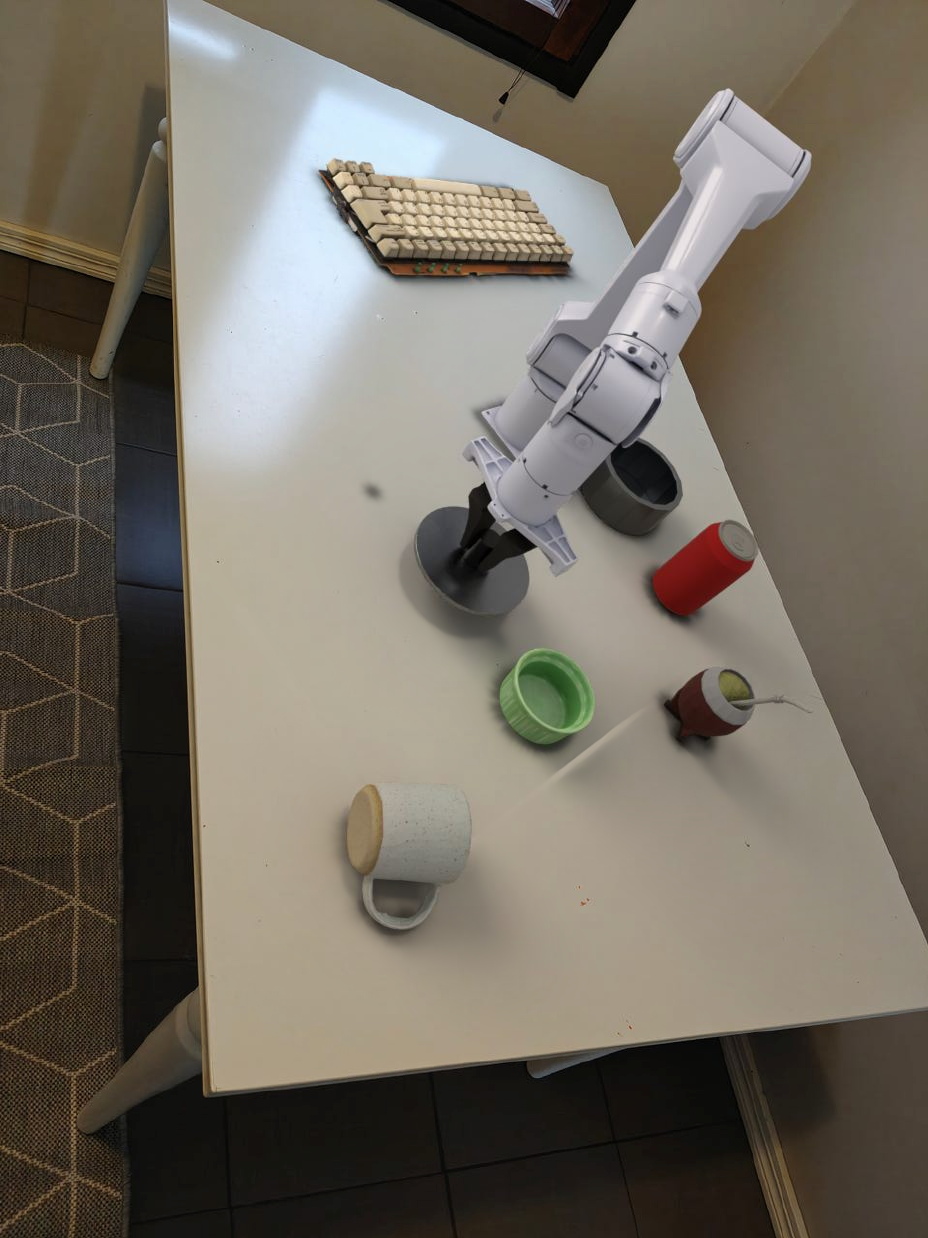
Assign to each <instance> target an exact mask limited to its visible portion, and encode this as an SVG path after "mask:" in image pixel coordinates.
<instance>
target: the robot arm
mask: <svg viewBox="0 0 928 1238" xmlns="http://www.w3.org/2000/svg"><path fill="white" fill-rule="evenodd" d="M734 94H735V93H734V91H733V90H732V89H731V88H726V89H725V90H724V89H723V90H719V91H718V92H716V93H715V94H714V96H713V97H712V98H711V99H710V100H709V102H708V103H707V104H706V105H705V107H704V108H703V110H702V111H701V113H700V114H699V115H698V116H697V118H696V119H695V121H694V123H693V124H692V126H691V127H690V128H689V130H688V131H687V133H686V134H685V136H684V137H683V138H682V140H681V141H680V142H679V144H678V146H677V147H676V149H675V150H674V156H673V157H672V161H673V162H674V164H675V165H676V166H677V167H678V169H679V176H680V177H681V181H680V184H679V186H678V189H677V190H676V192H675V193H674V194H673V196H672V197H671V198H670V200H669V201H668V202H667V204H666V205H665V206H664V208H663V209H662V211H661V212H660V213H659V215H658V216H657V217H656V218H655V220H654V221H653V222H652V224H651V225H650V226H649V229H647V231H646V232H645V233H644V235H643V236H642V237H641V238H640V240H639V242H637V244H636V245H635V247H634V248H633V249H632V251H631V252H630V253H629V255H628V256H627V257H626V259H625V260H624V262H622V264H621V266H620V267H618V270H617V271H616V272H615V274H613V276H612V278H611V279H610V280H609V282H608V283H607V285H606V286H605V287H604V288H603V290H602V291H601V292H600V294H599V295H598V297H597V298H596V299H595V300H594V301H593V302H591V301H578V300H577V301H576V300H567V301H565V302H564V303H563V304H560V305H559V307H558V308H557V309H556V310H555V312H554V313H553V314H552V315H551V316H549V318H548V319H547V321H545V323H544V324H543V326H542V327H541V329H540V330H539V332H538V333H537V335H536V336H535V338H534V339H533V341H532V343H531V345H530V346H529V348H528V350H527V352H526V354H525V358H526V364H527V365H529V368H527V370H526V372H525V373H524V374H523V376H522V377H521V378H520V380H519V381H518V383H517V384H516V385H515V386H514V388H513V390H512V391H511V393H509V395H508V396H507V398H506V399H505V401H504V402H503V403H502V405H498V406H496V407H491V408H488V409H485V410H482V411H481V415H482V416H483V418H484V419H485V420H486V422H487V423H488V424H489V426H490V427H491V428H492V430H493V431H494V432H495V433H496V434H497V436H498V437H499V439H500V440H501V441H502V442H503V444H504V445H505V446H506V447H507V449H508V450H509V452H510V453H511V454H512V455H513V457H514V458H515V459H514V461H512V460H511V459H509V458H508V457H507V456H506V455H504V454H503V452H501V451H500V450H499V449H497V447H495V446H494V444H492V443H491V441H490V440H489V439H488V438H487V437H486V436H485V435H483V436H480V437H477V438H474V439H471V440H470V441H469V442H468V443H467V445H466V446H465V448H464V449H463V450H462V452H461V455H462V456H463V458H464V459H465V461H466V462H473V463H474V465H475V466H476V467H477V469H478V470H479V471H480V474H481V476H482V478H483V482H482V483H481V484H480V485H478V486H475V487H473V488H472V489H471V490H470V491H469V493H468V496H467V498H468V508H469V515H468V520H467V525H466V528H465V531H464V534H463V537H462V539H461V542H460V545H461V547H462V548H463V549H465V548H467V547H468V546H469V545H470V544H471V543H472V542H473V540H474V539H475V538H476V537H477V536H478V534H479V533H480V532H481V531H482V530H483V529H487V528H488V529H490V528H491V526H492V525H493V524H494V522H495V521H496V522H497V523H499V524H505V523H507V524H509V525H511V527H512V528H511V529H509V530H507V532H504V533H502V534H501V536H500V538H499V540H498V542H497V544H496V546H495V547H494V549H493V550H492V552H491V553H490V554H489V555H488V556H487V557H486V558H485V559H484V560H483V561H482V562H481V563H480V564H479V566H478V570H479V571H480V572H481V573H484V572H486V571H488V570H490V569H492V568H494V567H495V566H497V565H498V564H499V563H500V562H502V561H503V560H505V559H508V558H512V557H516V556H519V555H522V554H526V553H528V552H530V551H533V550H535V549H537V548H538V549H539V550H540V551H541V553H542V554H543V555H544V557H545V558H546V559H547V561H548V563H550V564H551V565H550V566H549V567H548V569H549V571H550V572H551V574H552V575H553V576H554V577H555V578H557V577H559V576H561V575H562V574H565V573H566V572H568V571H570V570H571V568H572V567H573V566H575V564H577V562H579V561H580V558H579V556H578V555H577V554H576V552H575V550H574V549H573V546H572V545H571V543H570V541H569V539H568V536H567V535H566V531H565V530H564V528H563V525H562V522H561V521H560V518H559V516H558V514H557V512H558V511H559V510H560V509H561V508H562V506H564V504H565V503H566V502H568V500H569V499H570V498H571V497H572V495H574V493H575V492H576V491H577V490H578V489H579V488H581V485H582V483H583V482H584V481H585V480H586V479H587V478H588V477H589V476H590V475H591V474H592V473H593V471H594V470H595V469H596V468H597V467H598V466H599V465H600V464H601V463H602V462H603V461H604V460H605V458H606V457H607V456H608V455H609V454H610V453H611V452H612V451H613V450H614V449H615V448H616V446H617V445H618V444H619V443H620V442H621V441H622V447H623V448H626V447H628V446H630V445H631V444H633V443H634V442H635V441H636V440H637V439H638V438H641V436H642V435H643V434H644V432H645V431H646V430H647V429H648V427H650V425H651V424H652V422H653V421H654V419H655V417H656V416H657V414H658V412H659V411H660V409H661V407H662V406H663V403H664V402H665V400H666V398H667V395H668V391H669V386H670V383H671V382H672V379H673V375H674V374H673V373H672V372H671V371H670V370H671V369H672V367H673V365H674V364H675V361H676V360H677V358H678V357H679V354H680V353H681V351H682V349H683V348H684V347H685V344H686V342H687V341H688V339H689V337H690V335H691V334H692V332H693V330H694V328H695V327H696V325H697V323H698V321H699V320H700V318H701V315H702V304H701V300H700V297H699V294H698V293H699V292H700V289H701V288H702V287H703V285H704V284H705V282H706V281H707V279H708V278H709V277H710V275H711V274H712V273H713V271H714V270H715V268H716V266H717V265H718V264H719V262H720V260H721V259H722V258H723V256H724V255H725V253H726V252H727V251H728V249H729V248H730V246H731V244H733V242H734V240H735V239H736V238H737V236H738V234H739V233H740V232H741V230H755V229H756V228H757V227H759V225H761V224H762V223H763V222H766V221H769V220H772V219H773V218H774V217H775V216H777V215H778V214H779V213H780V212H781V211H782V210H783V209H784V207H785V206H786V205H787V204H788V203H789V202H790V201H791V199H792V198H793V197H794V196H795V194H796V193H797V192H798V191H799V189H800V188H801V186H802V185H803V183H804V181H805V179H806V178H807V176H808V174H809V172H810V171H811V166H812V152H810V151H809V150H807V149H803V148H802V147H801V146H799V145H798V144H796V143H795V142H794V141H793V140H791V138H789V137H788V136H787V135H785V134H784V133H783V132H781V130H779V129H778V128H777V127H775V126H774V125H773V124H771V123H770V122H769V121H768V120H766V119H765V118H764V117H762V116H761V115H760V114H759V113H758V112H756V111H755V110H754V109H753V108H751V107H750V106H749V105H747V103H745V102H744V101H743V100H742V99H740V98H739V97H737V96H736V95H734ZM488 413H489V414H488Z"/></svg>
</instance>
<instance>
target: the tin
mask: <svg viewBox="0 0 928 1238" xmlns="http://www.w3.org/2000/svg"><path fill="white" fill-rule="evenodd" d="M681 480H682V479H681V478H680V476H679V474H678V471H677V470H676V467H675V466H674V465H673V463H672V462H671V461H670V460H669V458H668V457H667V456H666V455H665V454H664V453H663V452H662V451H661V450H660V449H658V448H657V447H656V446H655V445H653V444H652V443H651V442H649V441H647V440H645V439H643V438H642V437H639V438H638V439H637V440H636V441H635V442H634V443H633V444H631V445H630V446H628V447H626V448H623V447H622V441H621V442H620V443H619V444H618V445H617V446H616V448H615V449H614V450H613V451H612V452H611V453H610V454H609V455H608V456H607V457H606V458H605V460H604V461H603V462H602V463H601V464H600V465H599V466H598V467H597V468H596V469H595V470H594V471H593V473H592V474H591V475H590V476H589V477H588V478H587V479H586V480H585V481H584V482H583V483H582V485H581V486H580V489H581V492H582V495H583V497H584V499H585V501H586V503H587V504H588V506H589V507H590V509H591V510H592V511H593V512H594V513H595V514H596V516H597V517H599V519H601V520H602V522H604V523H605V524H607V525H608V526H610V527H611V528H613V529H614V530H616V531H619V532H620V533H623V534H626V535H630V536H641V535H646V534H647V533H649V532H650V531H652V530H653V529H655V528H656V527H657V526H659V524H660V523H662V522H663V520H665V519H666V518H667V517H668V516H669V515H670V514H672V512H673V511H674V510H675V509H677V508H678V507H679V506H680V504H681V501H682V498H683V496H684V493H683V485H682V483H683V482H682V481H681Z"/></svg>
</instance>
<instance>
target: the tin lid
mask: <svg viewBox="0 0 928 1238" xmlns="http://www.w3.org/2000/svg"><path fill="white" fill-rule="evenodd" d="M468 515H469V507H465V506H459V505H457V506H453V505H451V506H444V507H440V508H437V509H435V510H432V511H430V512H429V513H428V514H426V515H425V517H424V518H423V519H422V520H421V522H420V523H419V524H418V526H417V528H416V531H415V534H414V541H413V549H414V556H415V560H416V563H417V565H418V569H419V570H420V572H421V574H422V576H423V577H424V579H425V581H426V582H427V583H428V585H429V586H430V587H431V588H432V589H433V590H434V592H435V593H437V594H438V595H439V596H440V597H441V598H442V599H443V600H444V601H446V602H447V603H449V604H450V605H452V606H453V607H455V608H457V609H459V610H460V611H463V612H466V613H468V614H471V615H475V616H479V617H499V616H503V615H506V614H508V613H511V612H512V611H514V610H515V609H516V608H518V606H519V605H521V604H522V602H523V601H524V599H525V598H526V595H527V594H528V590H529V586H530V570H529V566H528V563H527V562H528V561H527V559H526V557H525V555H524V554H525V553H524V554H522V555H519V556H516V557H512V558H508V559H505V560H503V561H502V562H500V563H499V564H498V565H497V566H495V567H494V568H492V569H490V570H488V571H486V572H484V573H481V572H480V571H479V570H478V566H479V564H480V563H481V562H482V561H483V560H484V559H485V558H486V557H487V556H488V555H489V554H490V553H491V552H492V550H493V549H494V547H495V546H496V544H497V542H498V540H499V538H500V536H501V534H502V533H504V532H507V531H508V530H507V529H506V528H505V527H503V525H501V523H499V522H498V521H495V522H494V524H493V525H492V526H491V528H490V529H488V528H487V529H483V530H482V531H481V532H480V533H479V534H478V536H477V537H476V538H475V539H474V540H473V542H472V543H471V544H470V545H469V546H468V547H467V548H465V549H463V548H462V547H461V545H460V542H461V539H462V537H463V534H464V531H465V528H466V525H467V520H468Z"/></svg>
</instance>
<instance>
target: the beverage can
mask: <svg viewBox="0 0 928 1238" xmlns="http://www.w3.org/2000/svg"><path fill="white" fill-rule="evenodd" d="M758 556H759V545H758V541H757V539H756V538H755V536H754V535H753V533H752V532H751V531H750V530H749V529H748V528H747V527H746V526H745V525H743V524H742V523H740V522H739V521H737V520H734V519H726V520H724V521H719V522H718V521H717V522H714V523H711V524H709V525H708V526H707V527H705V529H703V530H702V531H700V532H699V533H698V534H697V535H696V536H695V537H694V538H692V539H691V540H690V541H689V542H688V543H686V545H684V546H683V547H682V548H681V549H679V551H677V552H676V553H675V554H674V555H673V556H672V557H670V558H669V559H668V560H667V561H666V562H664V564H662V565H661V566H660V567H659V568H658V569H657V570H656V571H655V572H654V573H653V577H652V588H653V590H654V593H655V595H656V597H657V599H658V601H659V602H660V603H661V604H662V605H663V606H664V607H665V608H666V609H667V610H669V611H671V612H673V613H674V614H677V615H679V616H690V615H693V614H694V613H695V612H697V611H698V610H699V609H701V608H702V607H703V606H705V605H706V604H708V603H709V602H710V601H712V600H713V599H714V598H715V597H717V596H718V595H720V594H721V593H722V592H724V591H725V590H727V589H728V588H729V587H730V586H731V585H733V584H734V583H736V582H737V581H738V580H739V579H741V578H742V577H743V576H744V575H746V574H747V573H748V572H750V570H751V569H752V568H753V566H754V563H755V560H756V558H757V557H758Z"/></svg>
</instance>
